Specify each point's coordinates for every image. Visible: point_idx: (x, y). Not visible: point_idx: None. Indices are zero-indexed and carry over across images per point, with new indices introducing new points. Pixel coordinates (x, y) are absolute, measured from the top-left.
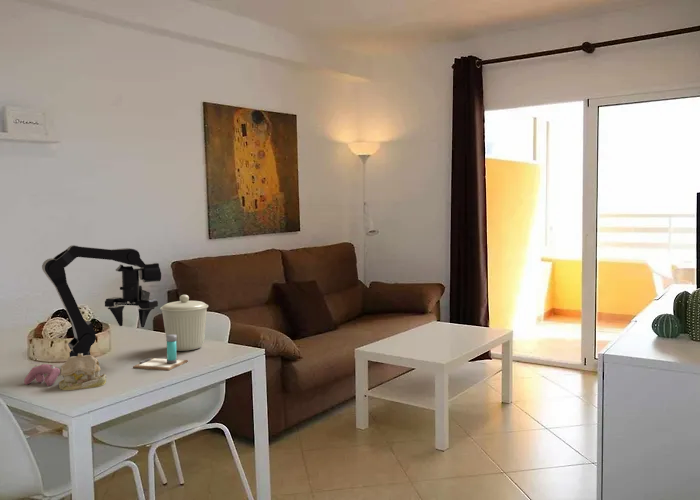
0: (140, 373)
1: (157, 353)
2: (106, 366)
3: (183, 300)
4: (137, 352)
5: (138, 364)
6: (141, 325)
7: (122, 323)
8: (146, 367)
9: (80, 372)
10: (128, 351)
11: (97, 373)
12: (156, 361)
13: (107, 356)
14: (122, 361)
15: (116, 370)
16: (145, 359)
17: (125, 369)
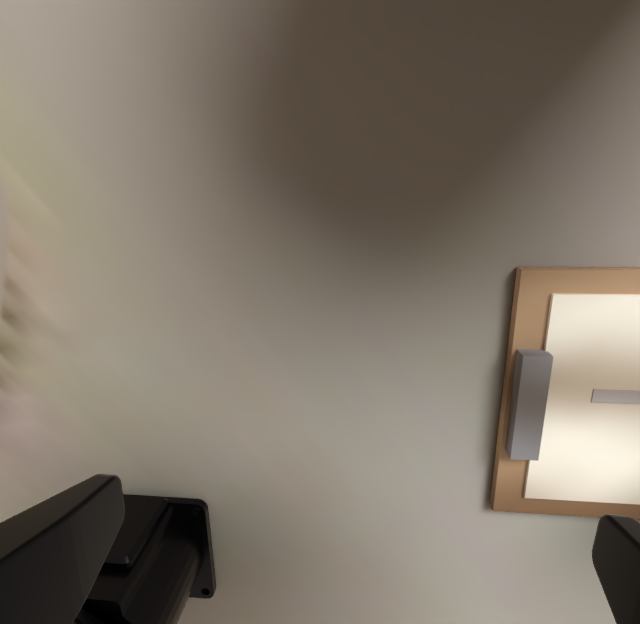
0: None
1: (427, 27)
2: (280, 486)
3: None
4: (207, 42)
5: (505, 462)
6: (627, 610)
7: (95, 499)
8: None
9: None
10: (98, 27)
11: None
12: (621, 383)
13: (72, 243)
14: (296, 357)
15: (410, 555)
16: (524, 395)
17: (455, 530)
